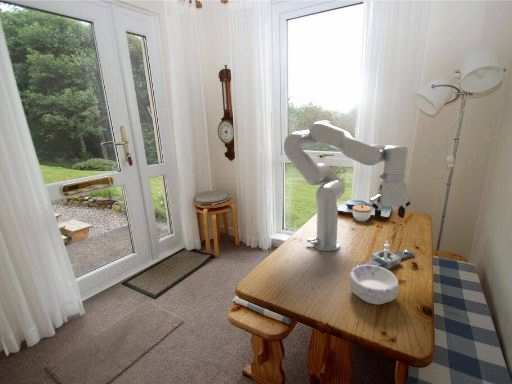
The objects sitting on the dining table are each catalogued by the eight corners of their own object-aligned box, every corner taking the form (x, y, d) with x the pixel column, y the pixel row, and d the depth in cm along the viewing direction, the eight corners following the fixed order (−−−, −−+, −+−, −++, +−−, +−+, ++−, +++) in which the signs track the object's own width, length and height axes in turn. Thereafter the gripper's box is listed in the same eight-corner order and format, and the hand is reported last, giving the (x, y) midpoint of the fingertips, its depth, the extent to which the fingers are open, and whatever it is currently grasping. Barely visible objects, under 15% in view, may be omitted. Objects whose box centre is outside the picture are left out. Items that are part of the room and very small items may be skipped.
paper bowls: (375, 317, 81) (377, 296, 78) (340, 290, 94) (341, 271, 92) (406, 300, 87) (409, 280, 85) (369, 277, 100) (370, 259, 98)
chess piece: (387, 258, 113) (389, 238, 110) (393, 264, 108) (396, 243, 105) (376, 259, 113) (378, 238, 110) (382, 265, 108) (384, 243, 105)
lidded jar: (372, 223, 150) (373, 208, 147) (352, 222, 152) (353, 207, 150) (369, 216, 160) (370, 202, 157) (350, 216, 162) (351, 202, 160)
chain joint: (366, 276, 101) (366, 269, 100) (351, 266, 108) (352, 260, 108) (418, 257, 112) (418, 251, 111) (401, 249, 119) (402, 243, 119)
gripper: (376, 180, 97) (373, 222, 101) (421, 178, 97) (415, 220, 102) (367, 176, 104) (364, 215, 109) (409, 174, 104) (404, 213, 109)
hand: (389, 217), depth 105 cm, fingers open, 9 cm apart
